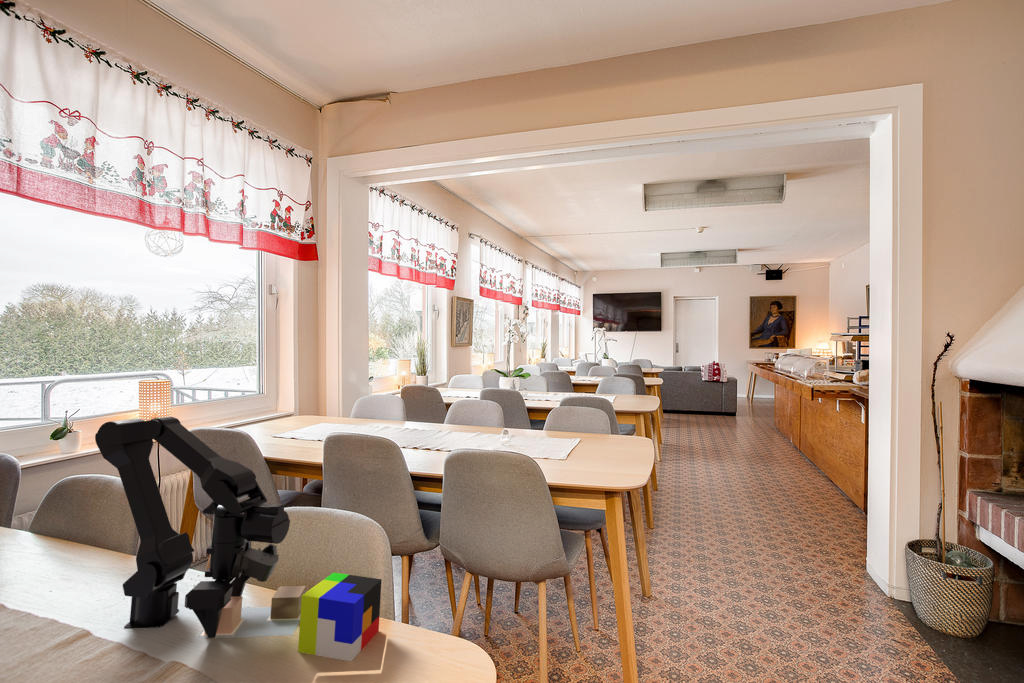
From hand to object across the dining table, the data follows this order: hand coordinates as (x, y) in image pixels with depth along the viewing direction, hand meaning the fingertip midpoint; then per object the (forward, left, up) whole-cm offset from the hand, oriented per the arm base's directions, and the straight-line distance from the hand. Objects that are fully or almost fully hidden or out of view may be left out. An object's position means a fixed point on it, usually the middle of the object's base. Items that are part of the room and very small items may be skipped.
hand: (223, 623), depth 92 cm
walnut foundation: (+10, +5, -1) cm, 11 cm away
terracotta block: (0, 0, -1) cm, 1 cm away
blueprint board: (+5, +2, -1) cm, 5 cm away
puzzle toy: (+22, -6, -1) cm, 23 cm away
